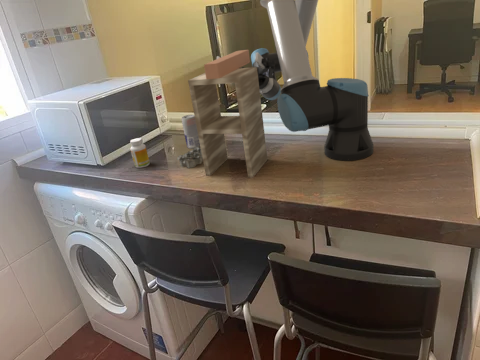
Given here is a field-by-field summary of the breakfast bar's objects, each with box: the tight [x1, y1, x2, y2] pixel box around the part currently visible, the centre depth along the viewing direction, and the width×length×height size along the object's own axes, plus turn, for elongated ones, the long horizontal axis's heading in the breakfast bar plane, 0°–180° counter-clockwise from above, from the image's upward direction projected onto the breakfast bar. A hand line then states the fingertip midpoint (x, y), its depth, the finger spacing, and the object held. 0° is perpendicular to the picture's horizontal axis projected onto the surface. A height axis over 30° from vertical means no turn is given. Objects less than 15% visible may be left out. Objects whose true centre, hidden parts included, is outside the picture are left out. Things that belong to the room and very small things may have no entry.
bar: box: [203, 49, 251, 79], centre depth 114 cm, size 4×24×4 cm, turn 158°
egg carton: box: [176, 147, 204, 169], centre depth 133 cm, size 11×8×4 cm
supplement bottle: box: [129, 137, 151, 169], centre depth 135 cm, size 5×5×10 cm
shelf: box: [187, 66, 268, 179], centre depth 117 cm, size 16×14×30 cm
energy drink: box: [181, 114, 200, 150], centre depth 146 cm, size 5×5×12 cm
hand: (236, 58), depth 120 cm, fingers open, 13 cm apart
